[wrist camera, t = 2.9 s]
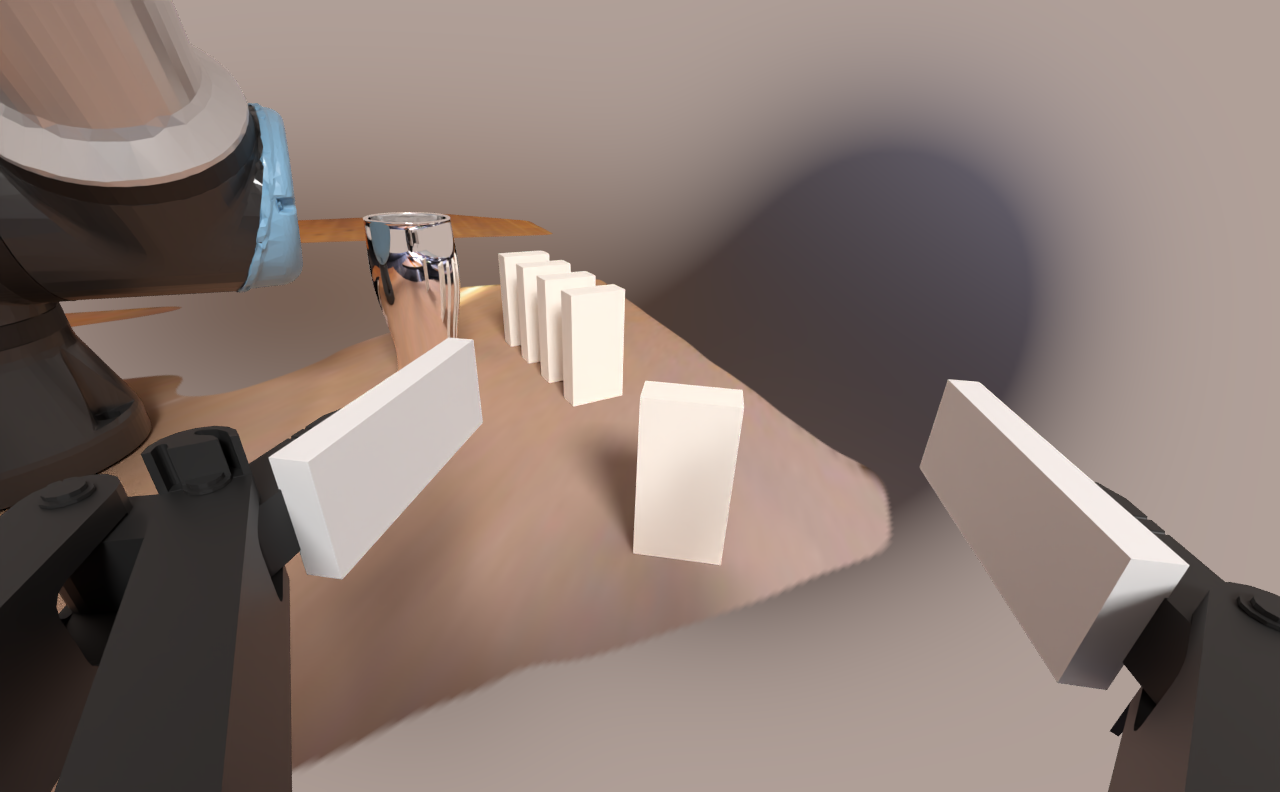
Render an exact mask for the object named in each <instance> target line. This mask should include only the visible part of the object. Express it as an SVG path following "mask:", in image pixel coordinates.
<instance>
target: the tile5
mask: <svg viewBox="0 0 1280 792" xmlns="http://www.w3.org/2000/svg"><path fill="white" fill-rule="evenodd" d="M498 257H499V269H500V281H501V294H502V306H503V319H504V331H505V341H506V342H507V343H508V344H509V345H510V346H511V347H513V346H519V345H521V335H520V320H519V305H518V289H517V274H516V264H517V263H530V262H543V261H549V254H548V253H546V252H544V251H528V252H513V253H499V254H498Z"/></svg>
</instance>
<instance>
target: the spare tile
mask: <svg viewBox="0 0 1280 792" xmlns="http://www.w3.org/2000/svg"><path fill="white" fill-rule="evenodd" d="M743 412H744V401H743V390H736V389H726V388H716V387H706V386H695V385H685V384H675V383H664V382H654V381H645V384H644V387H643V390H642V393H641V396H640V412H639V434H638V455H637V477H636V499H635V521H634V542H633V553H634V554H641V555H648V556H656V557H663V558H671V559H678V560H685V561H693V562H700V563H708V564H715V565H721V560H722V553H723V546H724V540H725V533H726V526H727V520H728V513H729V506H730V499H731V493H732V486H733V479H734V472H735V466H736V459H737V452H738V445H739V439H740V432H741V425H742V419H743Z"/></svg>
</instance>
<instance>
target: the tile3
mask: <svg viewBox="0 0 1280 792" xmlns="http://www.w3.org/2000/svg"><path fill="white" fill-rule="evenodd" d="M536 278H537V298H538V319H539V339H540V360H541V376H542V377H543V378H544V379H545V380H546V381H547V382H548V383H553V382H558V381H563V345H562V311H561V290H564V289H573V288H583V287H592V286H595V275H593V274H591V273H589V272H587V271H582V272H570V273H559V274H548V275H537V276H536Z"/></svg>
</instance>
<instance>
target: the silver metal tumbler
mask: <svg viewBox="0 0 1280 792" xmlns="http://www.w3.org/2000/svg"><path fill="white" fill-rule="evenodd" d="M450 219H451V218H450V217H449V216H447V215H443V214H436V213H422V212H421V213H420V212H395V213H381V214H373V215H368V216H365V217H364V218H363V220H364V226H365V236H366V246H367V255H368V261H369V268H370V273H371V277H372V281H373V286H374V289H375V292H376V295H377V299H378V302H379V304H380V307H381V310H382V312H383V315H384V318H385V320H386V323H387V325H388V328H389V330H390V333H391V336H392V338H393V341H394V344H395V348H396V353H397V360H398V371H399V370H401V369H402V368H404V367H405V366H407V365H408V364H410V363H411V362H413V361H414V360H416V359H417V358H419V357H420V356H422V355H423V354H425V353H426V352H428V351H429V350H431V349H432V348H434V347H435V346H437V345H438V344H440V343H441V342H443V341H444V340H446V339H447V338H458V320H459V304H460V276H459V265H458V258H457V252H456V246H455V241H454V236H453V231H452V226H451V220H450Z"/></svg>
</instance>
